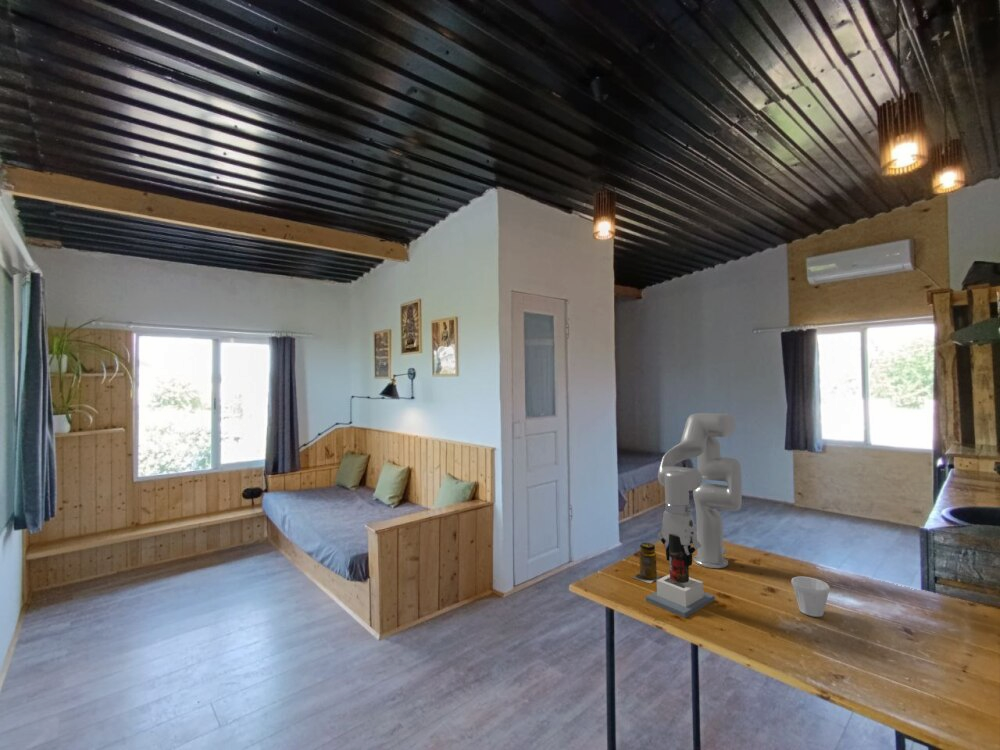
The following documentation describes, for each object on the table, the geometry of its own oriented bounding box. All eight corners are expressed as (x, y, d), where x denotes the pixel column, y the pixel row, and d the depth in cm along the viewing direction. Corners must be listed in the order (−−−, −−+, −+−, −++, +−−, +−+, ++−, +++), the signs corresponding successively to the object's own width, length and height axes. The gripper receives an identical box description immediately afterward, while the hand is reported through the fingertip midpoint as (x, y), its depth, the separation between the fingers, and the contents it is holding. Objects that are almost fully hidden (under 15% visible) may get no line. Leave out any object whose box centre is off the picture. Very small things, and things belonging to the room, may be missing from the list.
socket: (676, 585, 162) (675, 567, 162) (714, 600, 151) (713, 580, 151) (646, 601, 151) (645, 581, 151) (684, 617, 140) (683, 596, 140)
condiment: (661, 576, 170) (660, 544, 170) (650, 584, 164) (649, 550, 164) (643, 571, 175) (642, 540, 175) (632, 578, 169) (631, 545, 169)
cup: (837, 622, 135) (836, 591, 135) (800, 619, 137) (799, 589, 137) (821, 606, 145) (820, 577, 145) (786, 603, 147) (785, 575, 147)
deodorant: (666, 577, 153) (664, 532, 153) (680, 574, 155) (678, 530, 155) (678, 584, 147) (677, 537, 147) (693, 580, 149) (691, 535, 150)
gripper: (708, 511, 147) (709, 567, 146) (661, 501, 161) (662, 552, 160) (695, 516, 142) (697, 574, 142) (648, 505, 156) (650, 557, 156)
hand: (679, 562), depth 151 cm, fingers closed on deodorant, 5 cm apart
